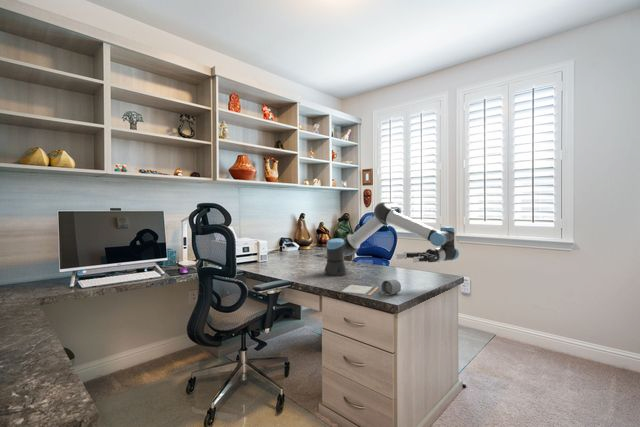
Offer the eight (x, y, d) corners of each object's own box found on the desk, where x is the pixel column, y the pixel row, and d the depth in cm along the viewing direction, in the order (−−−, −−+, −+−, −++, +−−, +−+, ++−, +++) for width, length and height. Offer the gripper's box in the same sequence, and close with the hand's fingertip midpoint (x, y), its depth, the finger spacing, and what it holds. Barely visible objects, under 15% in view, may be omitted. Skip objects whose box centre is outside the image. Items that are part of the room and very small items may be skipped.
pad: (350, 285, 190) (350, 284, 190) (372, 287, 184) (372, 286, 184) (341, 292, 176) (341, 291, 176) (364, 294, 171) (364, 293, 171)
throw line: (376, 287, 184) (376, 287, 184) (378, 288, 184) (378, 287, 184) (367, 295, 169) (367, 294, 169) (370, 295, 168) (370, 295, 168)
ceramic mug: (402, 293, 172) (401, 279, 172) (392, 296, 166) (392, 281, 166) (385, 290, 180) (385, 276, 180) (376, 293, 174) (376, 278, 174)
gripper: (452, 265, 174) (421, 269, 165) (419, 258, 196) (390, 261, 187) (452, 251, 173) (421, 254, 164) (419, 246, 196) (390, 248, 187)
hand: (404, 258), depth 176 cm, fingers open, 13 cm apart
